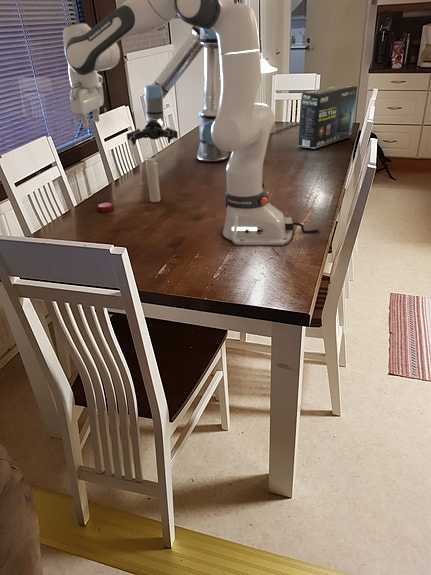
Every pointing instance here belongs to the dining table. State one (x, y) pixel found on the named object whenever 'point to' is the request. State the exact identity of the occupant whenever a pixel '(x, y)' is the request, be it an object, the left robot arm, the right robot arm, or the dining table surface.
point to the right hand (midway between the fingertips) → (91, 124)
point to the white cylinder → (153, 180)
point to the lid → (105, 207)
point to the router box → (326, 115)
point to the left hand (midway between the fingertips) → (151, 140)
